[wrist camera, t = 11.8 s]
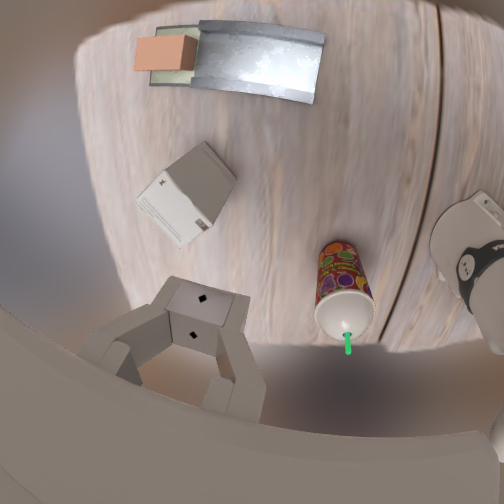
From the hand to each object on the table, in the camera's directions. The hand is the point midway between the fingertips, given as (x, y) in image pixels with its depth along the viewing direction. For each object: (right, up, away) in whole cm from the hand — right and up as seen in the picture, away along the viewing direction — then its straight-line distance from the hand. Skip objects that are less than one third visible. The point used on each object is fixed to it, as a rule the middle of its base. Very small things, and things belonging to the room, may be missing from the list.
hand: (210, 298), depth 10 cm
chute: (-1, +28, +21) cm, 35 cm away
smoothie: (+16, +1, +36) cm, 39 cm away
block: (-10, +30, +21) cm, 38 cm away
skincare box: (-5, +14, +31) cm, 35 cm away
